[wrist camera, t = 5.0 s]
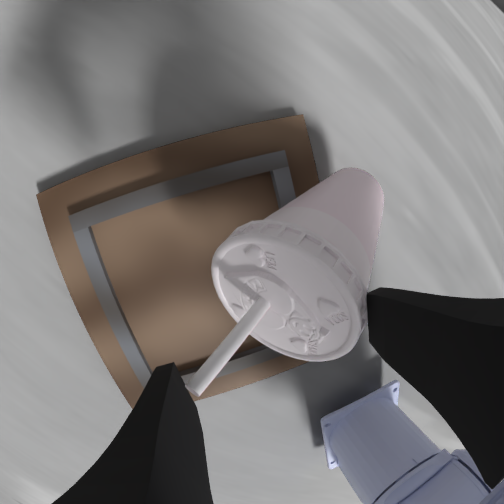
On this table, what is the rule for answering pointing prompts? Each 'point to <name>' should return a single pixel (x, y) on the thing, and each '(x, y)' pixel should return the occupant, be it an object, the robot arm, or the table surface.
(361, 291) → the smoothie
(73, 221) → the holder
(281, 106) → the table surface
